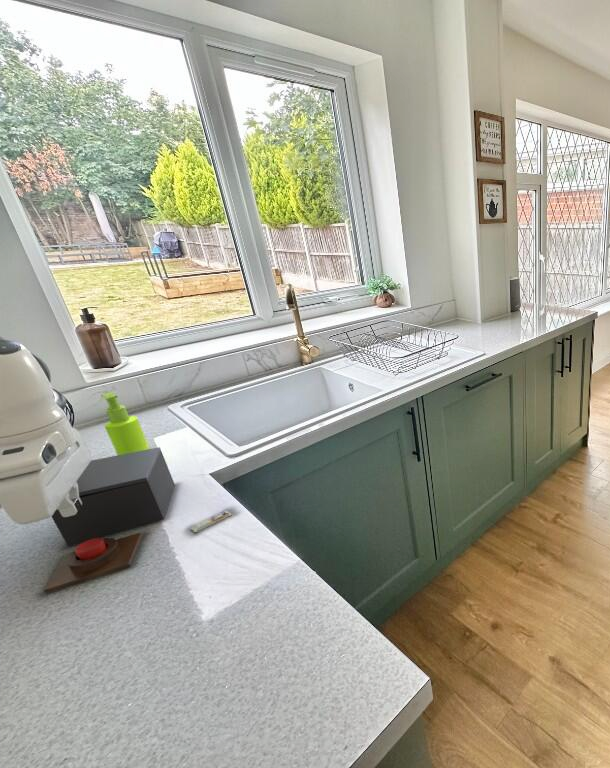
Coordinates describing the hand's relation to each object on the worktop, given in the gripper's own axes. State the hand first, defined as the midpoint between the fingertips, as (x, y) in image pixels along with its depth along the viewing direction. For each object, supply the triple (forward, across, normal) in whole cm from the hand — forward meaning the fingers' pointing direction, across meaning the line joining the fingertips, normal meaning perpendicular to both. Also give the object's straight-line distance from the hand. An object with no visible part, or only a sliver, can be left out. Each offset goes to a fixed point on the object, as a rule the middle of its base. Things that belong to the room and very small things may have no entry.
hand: (73, 511), depth 70 cm
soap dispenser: (+12, -37, -1) cm, 39 cm away
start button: (+9, 0, 0) cm, 9 cm away
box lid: (+2, -15, 0) cm, 15 cm away
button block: (+12, 0, 0) cm, 12 cm away
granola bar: (+12, -2, +17) cm, 21 cm away
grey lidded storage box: (+12, -15, +1) cm, 19 cm away
